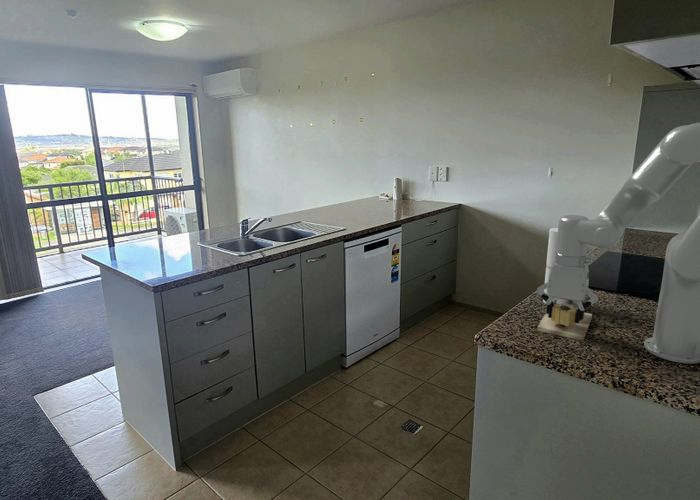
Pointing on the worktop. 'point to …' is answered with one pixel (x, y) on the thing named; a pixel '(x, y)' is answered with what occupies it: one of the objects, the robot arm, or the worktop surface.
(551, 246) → the cylindrical container
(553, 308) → the brass gear
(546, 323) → the gear board
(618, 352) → the worktop surface
